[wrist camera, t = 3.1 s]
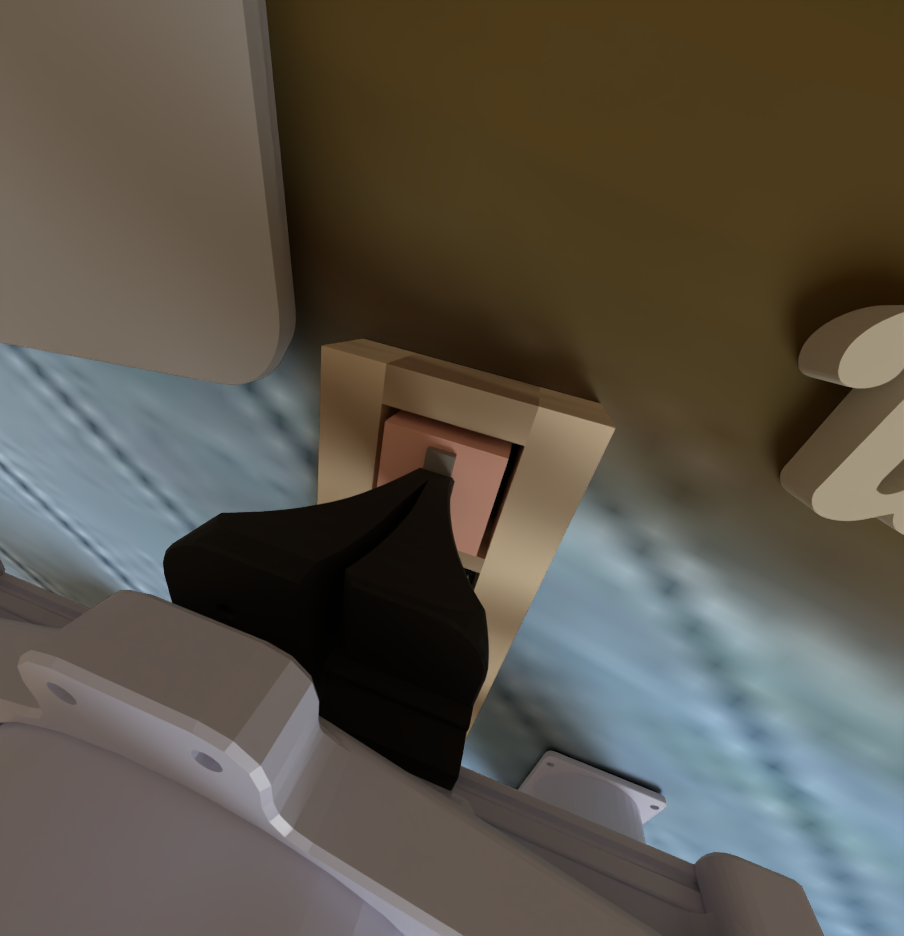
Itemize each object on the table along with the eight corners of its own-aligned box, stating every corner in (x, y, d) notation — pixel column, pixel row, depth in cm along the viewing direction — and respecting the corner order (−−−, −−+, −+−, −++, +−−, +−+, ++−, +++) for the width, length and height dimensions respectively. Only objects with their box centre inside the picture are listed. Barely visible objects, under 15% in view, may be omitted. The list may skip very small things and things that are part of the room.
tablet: (320, 385, 16) (288, 396, 14) (-63, 317, 20) (-128, 318, 18) (275, -244, 9) (194, -410, 7) (-308, -136, 13) (-462, -217, 11)
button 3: (487, 515, 16) (474, 561, 13) (400, 486, 16) (369, 525, 13) (515, 429, 14) (507, 462, 11) (414, 400, 14) (381, 423, 11)
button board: (475, 688, 22) (465, 739, 20) (339, 634, 23) (313, 676, 21) (601, 403, 13) (615, 428, 10) (363, 338, 14) (321, 345, 11)
